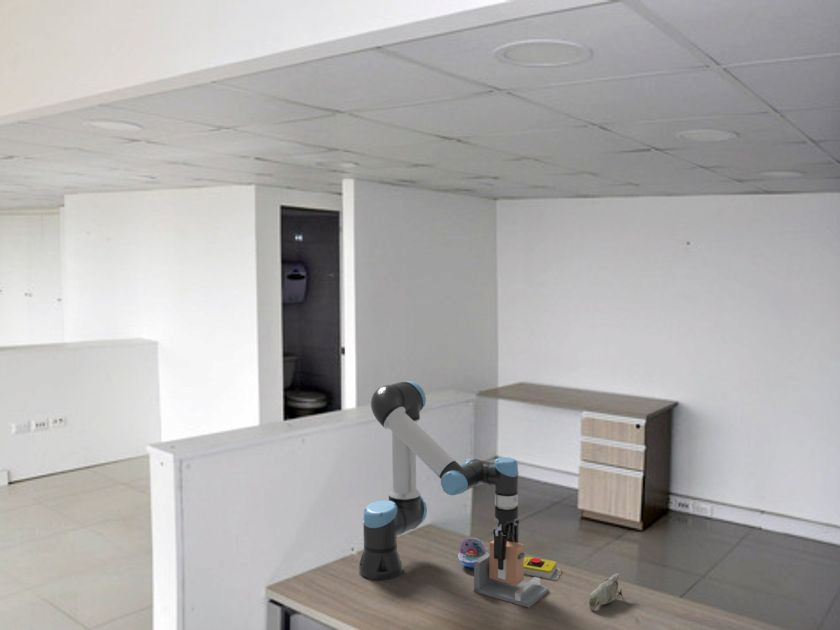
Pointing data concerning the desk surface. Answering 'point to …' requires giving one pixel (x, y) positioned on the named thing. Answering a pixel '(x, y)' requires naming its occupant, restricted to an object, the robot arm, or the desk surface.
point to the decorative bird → (604, 592)
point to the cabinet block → (508, 563)
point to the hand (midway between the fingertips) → (506, 575)
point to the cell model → (471, 551)
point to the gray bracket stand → (501, 585)
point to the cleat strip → (527, 589)
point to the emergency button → (541, 568)
